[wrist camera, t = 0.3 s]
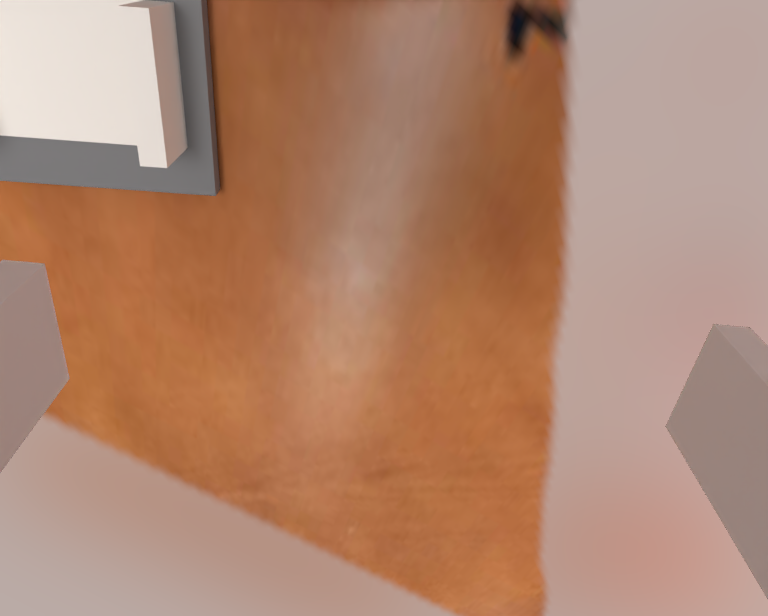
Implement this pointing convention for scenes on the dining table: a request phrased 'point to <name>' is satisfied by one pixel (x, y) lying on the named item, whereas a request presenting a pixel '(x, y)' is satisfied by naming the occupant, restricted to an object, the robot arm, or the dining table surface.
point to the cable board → (108, 95)
